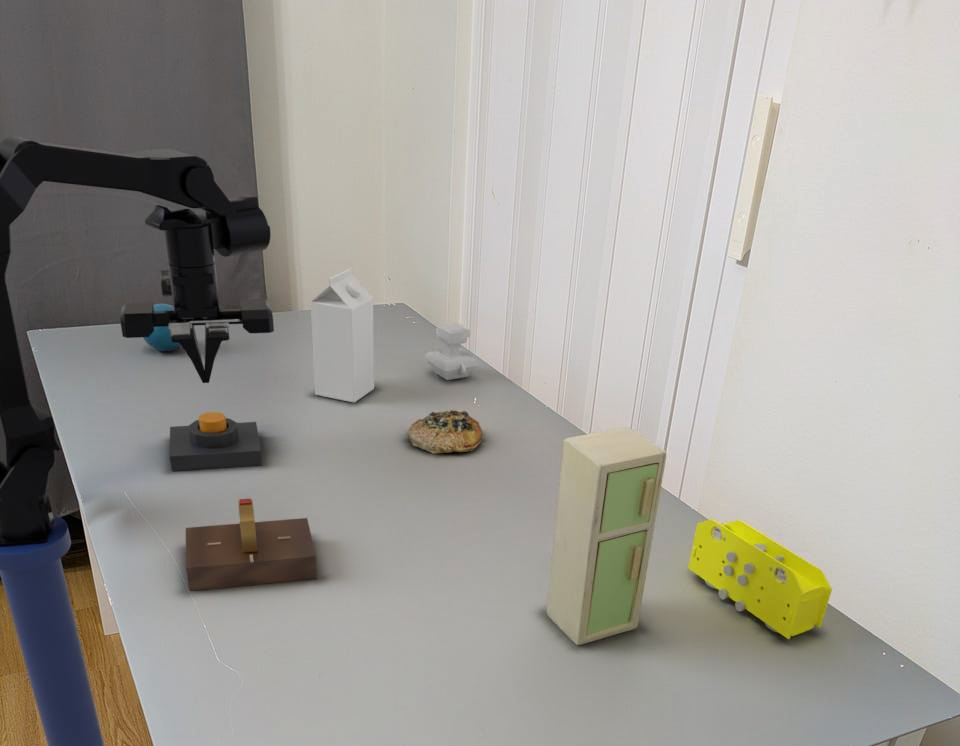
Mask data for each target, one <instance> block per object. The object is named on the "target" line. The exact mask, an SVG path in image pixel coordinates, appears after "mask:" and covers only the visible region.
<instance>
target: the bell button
mask: <svg viewBox="0 0 960 746" xmlns="http://www.w3.org/2000/svg"><path fill="white" fill-rule="evenodd" d="M226 418H227V417H226V414H224V413H222V412H218V411H217V412H216V411H210V412H209V411H208V412H204V413H202V414H200V415H199V416H198V420H199V425H200V430H201V431H202V432H208V433H213V432H220V431H224V430H226V429H227V425H226Z"/></svg>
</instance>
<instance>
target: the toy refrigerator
mask: <svg viewBox="0 0 960 746" xmlns="http://www.w3.org/2000/svg"><path fill="white" fill-rule="evenodd" d="M666 461H667V451H666V450H665V449H663V448H662V447H661V446H660V445H658V444H656V443H654V442H653V441H652V440H650V439H648V438H647V437H645V436H644V435H642V434H641V433H639V432H638V431H637V430H635V429H633V428H631V427H629V426H625V427H617V428H611V429H607V430H602V431H597V432H592V433H591V432H590V433H587V434H581V435H576V436H571V437H566V438H565V439H564V440H563V442H562V450H561V459H560V469H559V478H558V479H559V480H558V490H557V500H556V513H555V522H554V523H555V524H554V530H553V531H554V532H553V539H552V541H553V542H552V550H551V551H552V552H551V560H550V561H551V562H550V570H549V571H550V572H549V579H548V591H547V592H548V593H547V602H546V615H547V617H548V618H549V619H550V620H551V621H552V622H553V623H554V624H555V625H556V626H557V627H558V628H559V629H560V630H561V631H562V632H563V633H564V634H565V635H566V636H567V637H568V638H569V639H570V640H571V641H572V642H573V643H574V644H575V645H576V646H581V645H585V644H589V643H592V642H596V641H599V640H602V639H605V638H608V637H611V636H615V635H619V634H622V633H625V632H628V631H632V630H636V629H637V627H638V626H639V620H640V615H641V610H642V603H643V598H644V597H643V596H644V591H645V585H646V579H647V572H648V567H649V561H650V554H651V549H652V543H653V538H654V532H655V525H656V520H657V515H658V510H659V503H660V497H661V490H662V484H663V478H664V474H665V469H666Z"/></svg>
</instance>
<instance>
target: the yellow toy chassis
mask: <svg viewBox="0 0 960 746" xmlns="http://www.w3.org/2000/svg"><path fill="white" fill-rule="evenodd" d="M687 568H688V570H690V571H691V572H692V573H694V574H695V575H697V576H698V577H700V578H701V579H703V580H704V583H705V584H706V585H707V586H708V587H710V588H711V589H714V590H718V592H717V595H718V597H719V598H720V600H727V599H728V598H729V599H731V600H732V601H733V602H735V603H734V607H735V610H736V611H737V612H740V613H741V612H743V611H745V610H746V611H748V612H749V613H751V614H752V615H753V616H755V617H756V618H758V619H759V620H760V621H762V622H763V623H764V625H765V627H766V628H767V629H769V630H770V631H772V632H774V633H777V634H780V635H781V636H783V637H785V638H786V639H787V640H790V639H791V637H794V636H797V635H800V634H802V633H806V632H808V631H810V630H812V629H814V627H815V626H816V627H818V628H821V627H822V623H823V621H824V618H825V614H826V610H827V607H828V604H829V601H830V598H831V594H832V591H833V587H832V586H831V584H830V583H829V581H828V579H827V577H826V575H825V574H824V571H823V570H822V569H820V568H819V567H817V566H816V565H814V564H812V562H809V561H808V560H806V559H804V558H802V556H799V555H798V554H796V553H795V552H793V551H791V550H789V549H788V548H786V547H785V546H783V545H781V543H778V542H777V541H775V540H773V538H771V537H769V536H767V535H766V534H764V533H762V532H761V531H760V530H757V529H756V528H754V527H753V526H751V525H749V524H748V523H747V522H744V521H743V520H742V519H738V520H734V521H729V522H725V523H719V522H718V521H717V520H715V519H714V518H710V519H706V520H703V521H701V522H697V523H696V527H695V533H694V537H693V542H692V548H691V552H690V557H689V562H688V567H687Z"/></svg>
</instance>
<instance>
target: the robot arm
mask: <svg viewBox="0 0 960 746" xmlns="http://www.w3.org/2000/svg"><path fill="white" fill-rule="evenodd" d="M43 182H50V183H58V184H66V185H67V184H68V185H75V186H83V187H84V186H86V187H92V188H93V187H94V188H104V189H113V190H121V191H130V192H138V193H141V194H145V195H149V196H152V197H154V198H158V199H161V200H164V201H167V202H170V203H174V204H176V205H180V206H183V207H186V208H181V209H180V208H179V209H173V210H170V209H169V208H168V207H166V206H163V205H161V204H156V205H155V207H154V209H153V211H152V212H151V213H150V214H149V215H148V216H147V217H146V218H145V220H144V224H145V226H148V227H151V228H153V229H156V230H159V231H163V237H164V244H165V253H166V259H167V260H166V261H167V268H168V270H166V269H165V270H159V279H160V280H159V281H160V288H161V295H162V297H172V306H174V311H154V306H153V305H154V303H153V302H132V303H131V302H129V303H125V304H124V305H123V306H122V307H121V309H120V316H119V319H120V322H119V323H120V328H121V329H120V330H121V335H122V337H123V338H126V339H135V338H136V339H137V338H138V339H139V338H143V337H149V336H150V335H151V334H152V333H153V332H154V327H163V326H169V330H171V342H174V343H180V345H181V346H180V347H182V349H183V351H184V352H185V353H186V355H187V356H188V357H189V359H190V362H191V363H192V364H193V367H194V368H195V371H196V372H197V374H198V376H199V378H200V380H201V382H202V384H209V383H210V380H211V375H212V371H213V367H214V364H215V363H214V362H215V360H216V356H217V354H218V352H219V349H220V347H221V344H222V342H226V341H229V340H230V331H229V328H230V325H242V328H243V329H244V331H246V332H247V333H248V334H270V333H273V332H275V326H274V315H273V310H272V306H271V304H270V303H269V302H268V301H267V300H266V299H240V300H238V301H239V308H221V302H220V293H219V292H220V291H219V284H218V276H217V267H216V258H215V251H216V252H217V253H218V254H219V255H220V256H222V257H225V258H228V257H232V256H238V255H245V254H249V253H257V252H262V251H265V250H267V248H268V247H269V246H270V245H269V244H270V242H271V227H270V225H269V223H268V220H267V217H266V215H265V214H264V211H263V210H262V208H261V207H260V206H259V198H258V197H257V196H255V195H252V194H249V193H247V194H242V195H238V196H235V197H230V198H228V197H227V196H226V194H225V193H224V191H223V190H222V189H221V187H219V185H218V184H217V182H216V181H215V176H214V173H213V171H212V168H211V166H210V165H209V163H208V161H207V160H206V159H204V158H202V157H199V156H197V155H192V154H189V153H186V152H181V151H179V150H175V149H172V148H158V149H157V148H156V149H143V150H138V151H135V152H124V153H122V152H115V151H108V150H101V149H94V148H86V147H80V146H73V145H66V144H65V145H64V144H59V143H58V144H57V143H50V142H44V141H43V142H42V141H36V140H35V141H34V140H32V139H27V138H25V137H22V136H18V135H12V136H8V137H6V138H4V139H3V140H2V141H1V142H0V547H6V546H18V545H31V544H43V543H46V542H47V541H48V538H49V533H50V532H51V531H52V529H53V524H54V518H53V515H54V514H53V512H52V511H53V509H52V504H51V500H50V497H49V493H47V486H48V479H49V473H50V471H51V469H52V468H54V467H55V466H56V465H55V464H56V451H58V452H59V451H61V448H60V447H59V444H58V443H57V441H56V438H55V423H54V419H53V417H52V416H50V415H49V414H47V413H46V412H44V411H42V410H41V409H39V408H38V407H36V406H35V405H33V404H32V402H31V399H30V394H29V390H28V384H27V380H26V375H25V370H24V365H23V359H22V356H21V350H20V346H19V340H18V336H17V330H16V326H15V321H14V315H13V311H12V305H11V300H10V295H9V291H8V287H7V282H6V273H7V269H8V265H9V262H10V261H9V260H10V257H11V252H12V250H11V248H12V247H11V246H12V245H11V243H12V241H11V225H12V224H13V222H15V220H16V219H17V218H18V217H20V215H22V213H23V212H24V211H25V210H26V208H27V206H28V204H29V202H30V201H31V199H32V197H33V195H34V194H35V192H36V190H37V188H38V187H39V186H41V184H42V183H43ZM192 209H200V210H203V211H204V213H198V214H197V213H196V212H195V211H193V210H192ZM182 318H185V319H182ZM195 326H204V361H203V359H202V354H201V349H200V347H199V343H198V338H197V334H196V330H195Z"/></svg>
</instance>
